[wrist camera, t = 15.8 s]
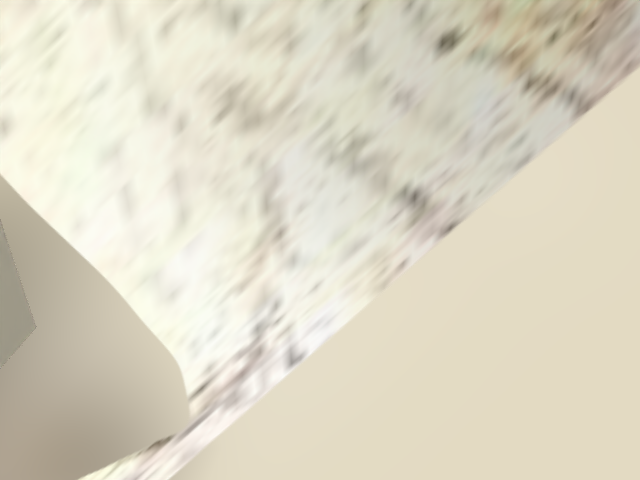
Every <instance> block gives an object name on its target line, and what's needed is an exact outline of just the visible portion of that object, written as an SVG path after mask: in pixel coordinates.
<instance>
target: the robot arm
mask: <svg viewBox="0 0 640 480" xmlns="http://www.w3.org/2000/svg"><path fill="white" fill-rule="evenodd" d="M35 328H36V325H35V322H34V319H33V316H32V313H31V310H30V307H29V304H28V301H27V298H26V295H25V292H24V289H23V286H22V283H21V280H20V277H19V274H18V271H17V268H16V265H15V262H14V259H13V256H12V253H11V250H10V247H9V244H8V241H7V238H6V235H5V232H4V229H3V226H2V223H1V220H0V368H1V367H2V366H3V365H4V364H5V363H6V361H7V360H8V359H9V358H10V357H11V356H12V355H13V353H14V352H15V351H16V350H17V349H18V348H19V347H20V345H21V344H22V343H23V342H24V341H25V340H26V339H27V337H28V336H29V335H30V334H31V333H32V332H33V331H34V329H35Z"/></svg>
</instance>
